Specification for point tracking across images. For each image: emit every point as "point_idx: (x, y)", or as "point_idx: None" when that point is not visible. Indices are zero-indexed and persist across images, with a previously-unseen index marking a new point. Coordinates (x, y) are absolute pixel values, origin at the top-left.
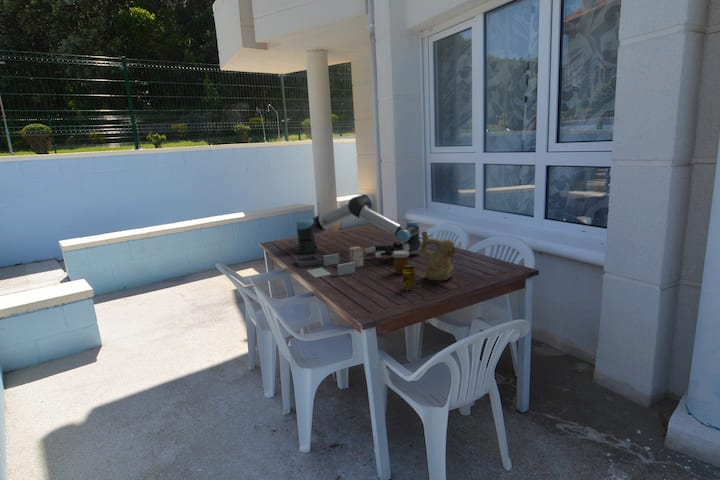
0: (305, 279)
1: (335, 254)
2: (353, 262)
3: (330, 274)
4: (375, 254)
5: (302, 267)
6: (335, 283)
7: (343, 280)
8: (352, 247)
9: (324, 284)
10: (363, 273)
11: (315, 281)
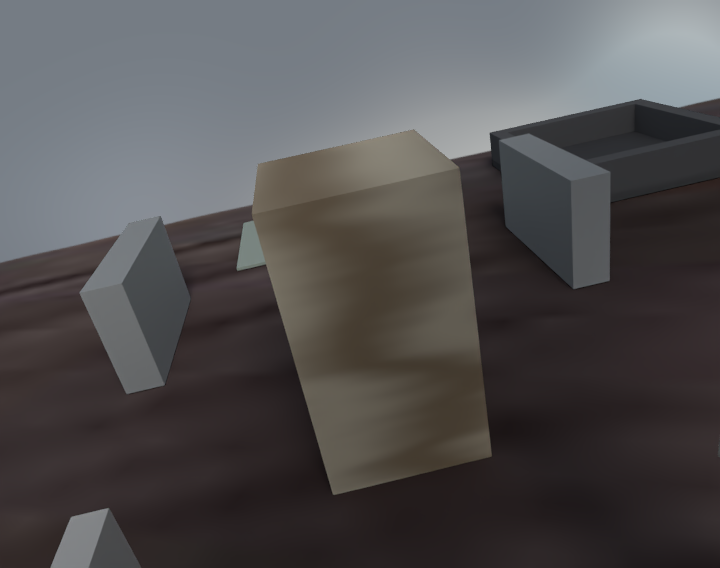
0: (245, 206)
1: (551, 168)
2: (99, 285)
3: (238, 267)
4: (119, 545)
5: (494, 164)
6: (32, 298)
7: (33, 327)
8: (413, 141)
9: (78, 264)
10: (22, 458)
11: (171, 235)
